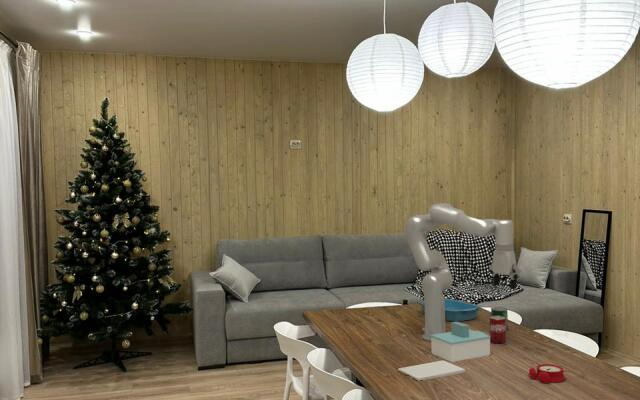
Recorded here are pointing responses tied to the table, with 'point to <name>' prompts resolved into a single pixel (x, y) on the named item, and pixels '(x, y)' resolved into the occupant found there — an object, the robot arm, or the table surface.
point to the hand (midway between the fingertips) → (504, 287)
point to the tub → (460, 349)
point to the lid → (460, 334)
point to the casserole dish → (458, 310)
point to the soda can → (498, 330)
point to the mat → (431, 370)
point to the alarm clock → (548, 373)
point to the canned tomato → (500, 313)
